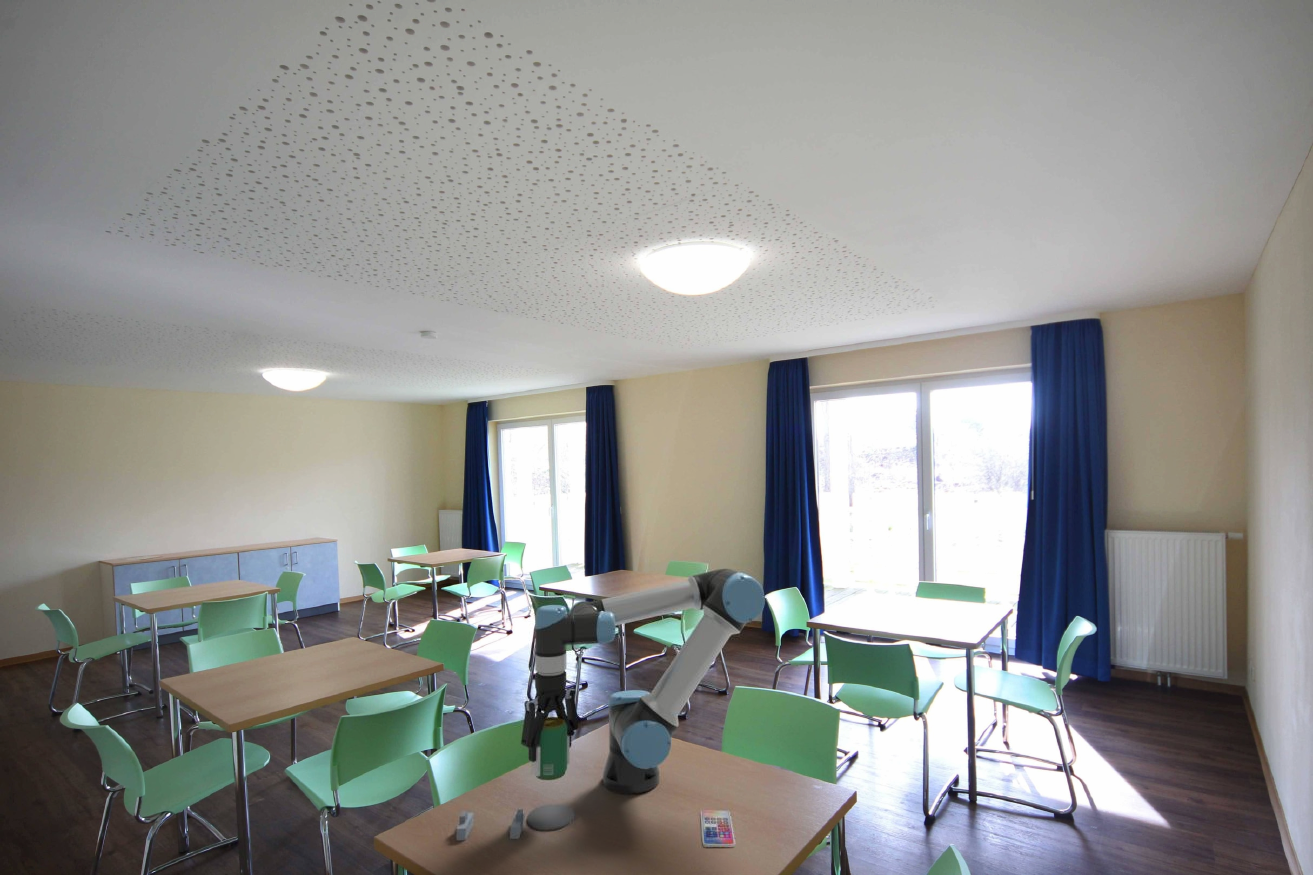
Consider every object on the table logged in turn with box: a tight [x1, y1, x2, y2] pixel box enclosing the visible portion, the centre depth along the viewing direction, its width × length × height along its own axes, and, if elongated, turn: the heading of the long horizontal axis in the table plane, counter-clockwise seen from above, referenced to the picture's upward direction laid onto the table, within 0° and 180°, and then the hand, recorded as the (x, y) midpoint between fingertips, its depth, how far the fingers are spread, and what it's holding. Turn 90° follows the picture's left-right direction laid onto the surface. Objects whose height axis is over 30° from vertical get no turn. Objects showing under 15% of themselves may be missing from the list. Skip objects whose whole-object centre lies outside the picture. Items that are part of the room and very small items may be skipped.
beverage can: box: [535, 716, 568, 781], centre depth 152 cm, size 8×8×12 cm
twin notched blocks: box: [456, 808, 526, 841], centre depth 146 cm, size 14×7×4 cm, turn 92°
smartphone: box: [700, 809, 736, 848], centre depth 145 cm, size 7×1×15 cm
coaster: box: [527, 803, 575, 832], centre depth 151 cm, size 11×11×1 cm
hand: (550, 767), depth 152 cm, fingers closed on beverage can, 8 cm apart
